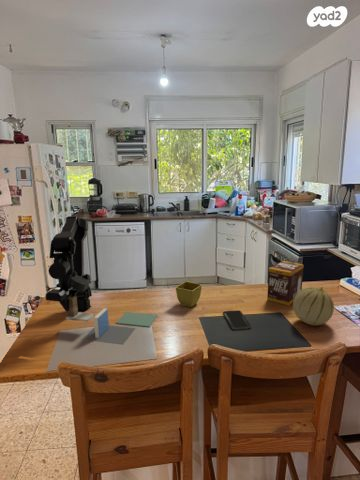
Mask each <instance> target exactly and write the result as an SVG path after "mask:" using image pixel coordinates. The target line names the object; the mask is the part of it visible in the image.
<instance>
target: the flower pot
mask: <svg viewBox="0 0 360 480" xmlns="http://www.w3.org/2000/svg"><path fill="white" fill-rule="evenodd" d="M202 286H203V285H202V284H200V283H197V282H196V283H195V282H191V281H184V282H182V283H181V284H179V285H177V286H176V287H175V292H176V297H177V300H178V303H179V304H181V306H184V307H188V308H192V307H193V306H195V305H196V304H197V303H198V302H199V299H200V298H201V293H202Z"/></svg>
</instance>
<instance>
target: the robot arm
mask: <svg viewBox="0 0 360 480" xmlns="http://www.w3.org/2000/svg"><path fill="white" fill-rule="evenodd" d="M88 231H89V223H88V221H87V220H86V219H84V218H81V217H80V216H78V215H69V216H66V217H65V223H64V225H63V227H62V229H61V231H60V232H58V233H56V234H55V235H54V237H53V238H52V239H51V240H50V248H49V259H53V261H52V262H53V263H52V264H51V265H50V266H49V268H48V271H47V272H48V274H49V276H50V277H51V278H52V279H55V280H57V282H58V283H57V284H56V286H55V287H56V288H57V289H56V288H52V289H50V290H49V291H47V292H46V293H45V300H46V301H51V302H52V301H53V302H59V304H60V305H61V306H62V308H63V310H65V311H66V312H67V311H69V298H70V297H71V296H77V307H78V312H81V313H86V311H88V310H89V309H91V308H92V305H91V299H90V297H92V296H93V294H92V293H93V291H92V289H91V287H90V284H91V283H92V281H91V276H90V274H89V273H85V272H84V271H85V270H84V265H85V263H84V259H85V257H84V254H85V253H84V241H85V239H86V238H87V236H88ZM84 273H85V274H84ZM58 288H59V289H58Z"/></svg>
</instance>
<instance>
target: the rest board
mask: <svg viewBox="0 0 360 480" xmlns="http://www.w3.org/2000/svg"><path fill="white" fill-rule="evenodd" d="M157 318H158V314H151V313H143V312H133V311H132V312H131V311H125V312H124V313H123V315H121V317H120V318H118V320H117V321H116V322H115V323H116V325H125V326H126V325H127V326H134V327H136V326H137V327H145V328H150V327H151V326H152V324H154V322H155V320H156V319H157Z"/></svg>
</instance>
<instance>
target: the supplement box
mask: <svg viewBox="0 0 360 480" xmlns="http://www.w3.org/2000/svg"><path fill="white" fill-rule="evenodd" d="M304 268H305V267H304V264H302V263H298V262H292V261H286V260H281V261H280V262H278V263H276V264H274V265H272V266H270V267H269V268H268V278H267V301H270V302H273V303H277V304H281V305H285V306H290V305H291V304H293V301H294V298H295V296H296V294H297V293H298V292H299V291H300V290H302V289H303V278H304Z"/></svg>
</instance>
